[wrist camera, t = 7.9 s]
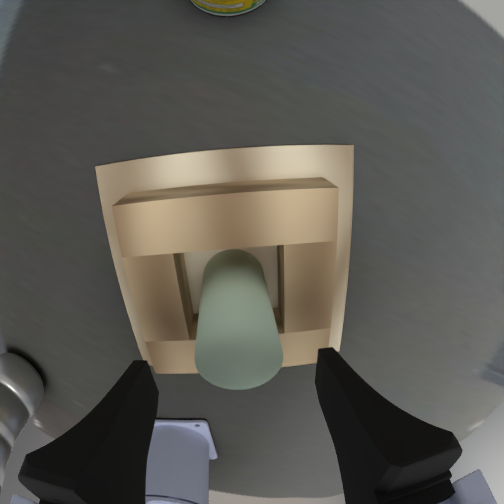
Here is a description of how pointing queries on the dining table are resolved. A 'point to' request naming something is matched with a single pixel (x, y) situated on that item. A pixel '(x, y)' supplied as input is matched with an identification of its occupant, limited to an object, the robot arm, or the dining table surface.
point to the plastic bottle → (16, 401)
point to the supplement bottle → (227, 6)
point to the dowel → (236, 324)
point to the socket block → (231, 241)
